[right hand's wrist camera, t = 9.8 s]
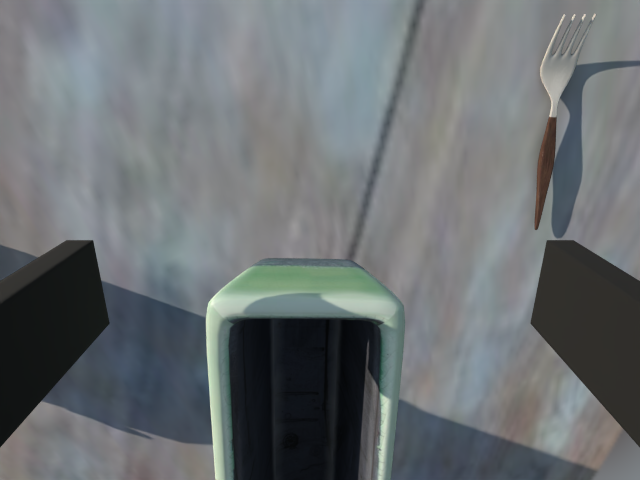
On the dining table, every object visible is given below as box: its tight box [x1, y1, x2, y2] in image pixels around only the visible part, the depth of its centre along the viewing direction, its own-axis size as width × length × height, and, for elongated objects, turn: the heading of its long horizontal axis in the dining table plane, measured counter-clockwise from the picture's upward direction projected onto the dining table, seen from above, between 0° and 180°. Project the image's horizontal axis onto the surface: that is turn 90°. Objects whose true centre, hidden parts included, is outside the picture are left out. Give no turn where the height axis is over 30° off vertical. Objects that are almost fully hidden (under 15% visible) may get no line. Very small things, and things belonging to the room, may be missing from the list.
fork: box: [535, 14, 596, 230], centre depth 32 cm, size 3×16×2 cm, turn 1°
